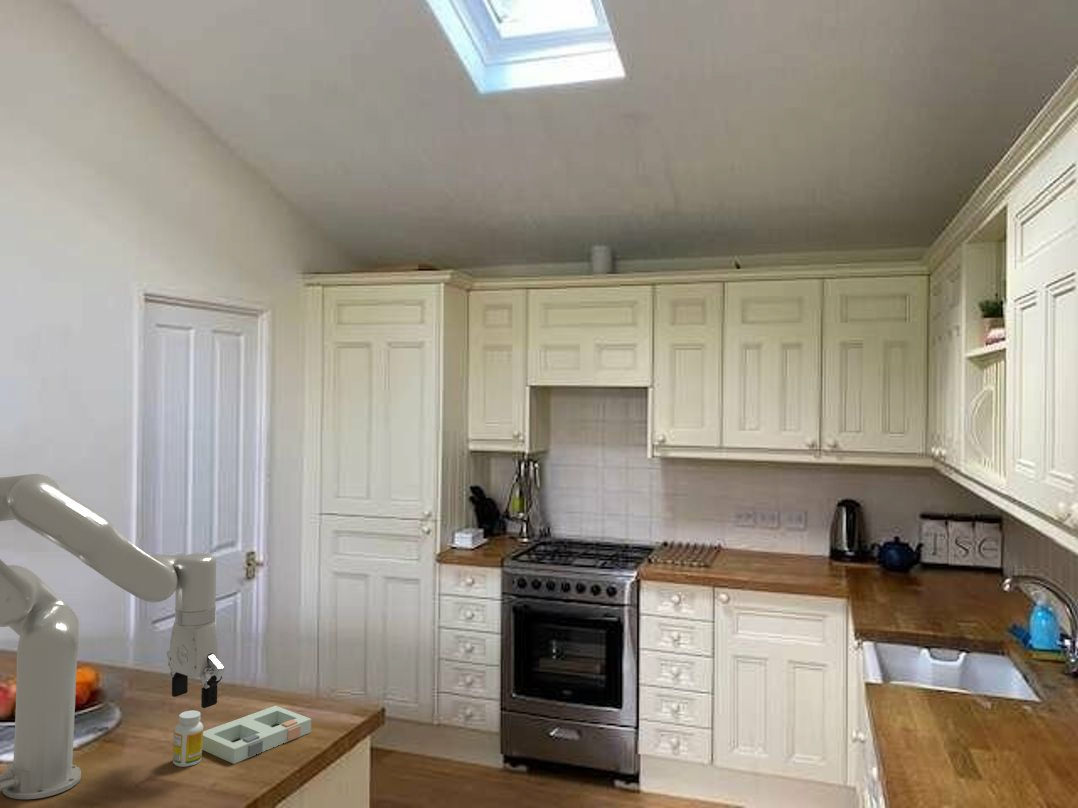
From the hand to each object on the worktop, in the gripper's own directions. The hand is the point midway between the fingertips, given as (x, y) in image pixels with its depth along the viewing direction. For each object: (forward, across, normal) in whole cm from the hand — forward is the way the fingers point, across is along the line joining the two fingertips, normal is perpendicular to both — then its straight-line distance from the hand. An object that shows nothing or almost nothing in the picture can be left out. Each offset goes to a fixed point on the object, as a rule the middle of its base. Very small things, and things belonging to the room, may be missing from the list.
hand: (194, 700), depth 165 cm
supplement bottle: (+12, 0, -1) cm, 13 cm away
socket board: (+13, +2, +14) cm, 19 cm away
